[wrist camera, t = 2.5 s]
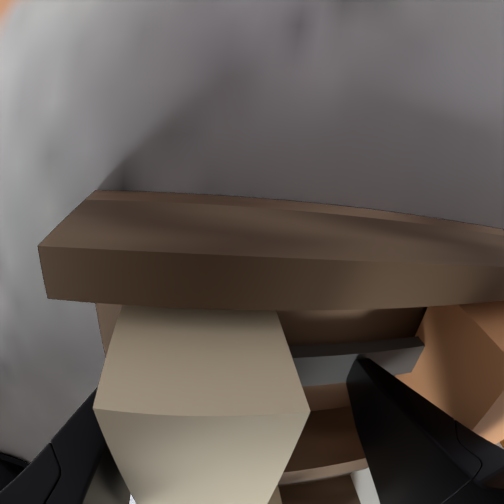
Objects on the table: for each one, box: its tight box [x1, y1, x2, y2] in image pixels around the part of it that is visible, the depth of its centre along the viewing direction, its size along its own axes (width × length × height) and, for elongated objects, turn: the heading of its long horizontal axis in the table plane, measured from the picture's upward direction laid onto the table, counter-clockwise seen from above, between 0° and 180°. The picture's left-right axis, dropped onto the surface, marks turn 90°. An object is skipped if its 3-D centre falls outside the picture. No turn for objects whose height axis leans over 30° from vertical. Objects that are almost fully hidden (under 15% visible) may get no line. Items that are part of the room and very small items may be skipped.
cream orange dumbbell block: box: [93, 301, 504, 504], centre depth 8 cm, size 14×6×4 cm, turn 83°
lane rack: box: [38, 190, 504, 504], centre depth 11 cm, size 18×16×3 cm
